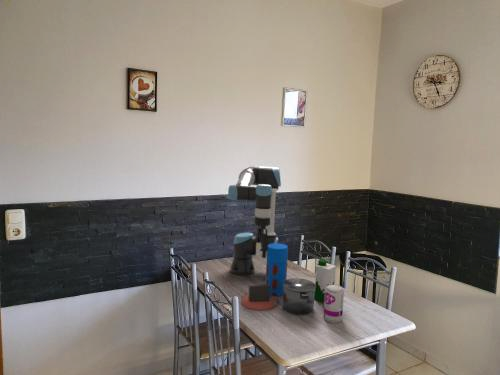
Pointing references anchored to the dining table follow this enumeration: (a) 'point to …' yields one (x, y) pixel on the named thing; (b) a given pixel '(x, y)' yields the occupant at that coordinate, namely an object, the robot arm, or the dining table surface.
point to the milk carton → (323, 278)
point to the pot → (298, 296)
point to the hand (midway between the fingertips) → (260, 259)
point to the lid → (259, 297)
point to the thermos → (276, 267)
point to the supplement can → (333, 303)
